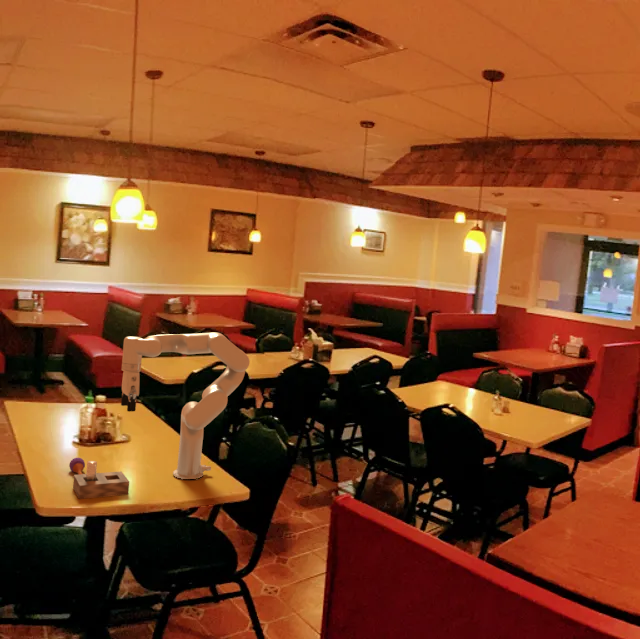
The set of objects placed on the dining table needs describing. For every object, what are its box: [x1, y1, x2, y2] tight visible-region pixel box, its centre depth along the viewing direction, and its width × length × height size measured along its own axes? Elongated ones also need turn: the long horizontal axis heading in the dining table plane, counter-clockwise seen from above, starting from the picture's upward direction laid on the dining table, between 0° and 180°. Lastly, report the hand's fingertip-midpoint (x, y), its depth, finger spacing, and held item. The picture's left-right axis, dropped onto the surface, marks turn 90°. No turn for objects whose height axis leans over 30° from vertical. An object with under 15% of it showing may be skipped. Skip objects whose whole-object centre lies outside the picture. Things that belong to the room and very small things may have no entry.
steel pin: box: [85, 460, 98, 482], centre depth 245 cm, size 4×4×10 cm
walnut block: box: [72, 470, 130, 500], centre depth 248 cm, size 18×12×5 cm, turn 121°
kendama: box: [68, 457, 86, 475], centre depth 260 cm, size 6×6×20 cm
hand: (128, 408), depth 264 cm, fingers open, 9 cm apart
